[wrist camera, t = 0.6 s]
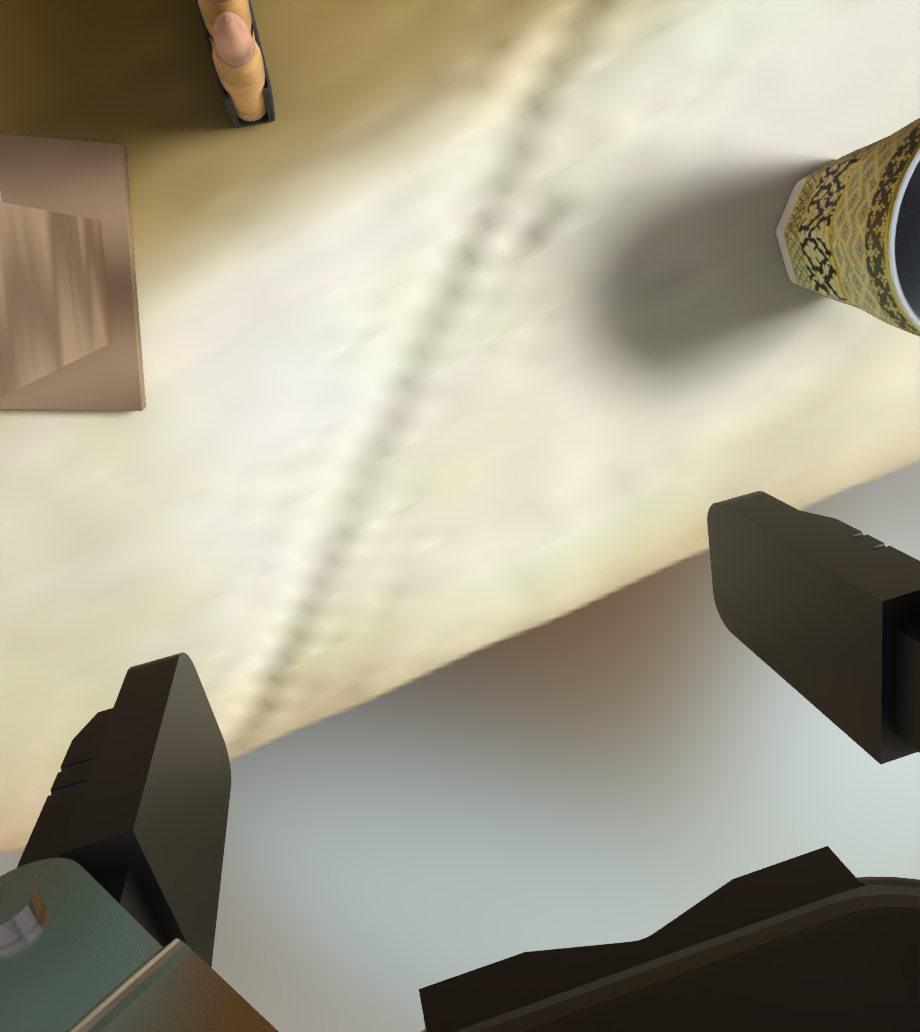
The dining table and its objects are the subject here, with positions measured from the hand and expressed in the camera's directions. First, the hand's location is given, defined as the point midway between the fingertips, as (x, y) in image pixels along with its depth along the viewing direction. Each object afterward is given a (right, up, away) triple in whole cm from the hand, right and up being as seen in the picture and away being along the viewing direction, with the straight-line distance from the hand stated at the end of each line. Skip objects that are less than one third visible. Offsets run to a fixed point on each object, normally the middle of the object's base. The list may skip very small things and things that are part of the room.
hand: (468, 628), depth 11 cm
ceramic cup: (+21, +16, +29) cm, 39 cm away
